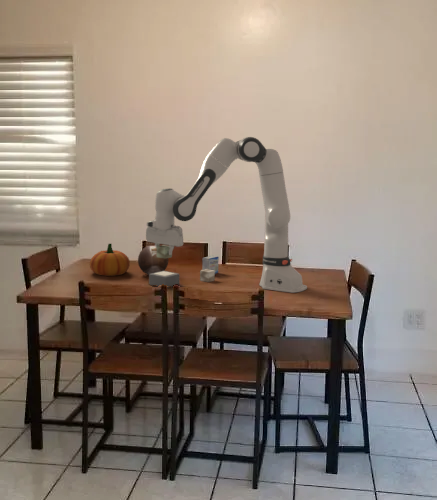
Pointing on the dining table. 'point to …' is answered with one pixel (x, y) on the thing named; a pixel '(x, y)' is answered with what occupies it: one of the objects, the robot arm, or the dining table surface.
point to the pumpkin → (109, 262)
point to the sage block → (163, 251)
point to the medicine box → (211, 263)
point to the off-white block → (207, 275)
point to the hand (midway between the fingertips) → (164, 253)
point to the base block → (164, 278)
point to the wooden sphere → (151, 260)
